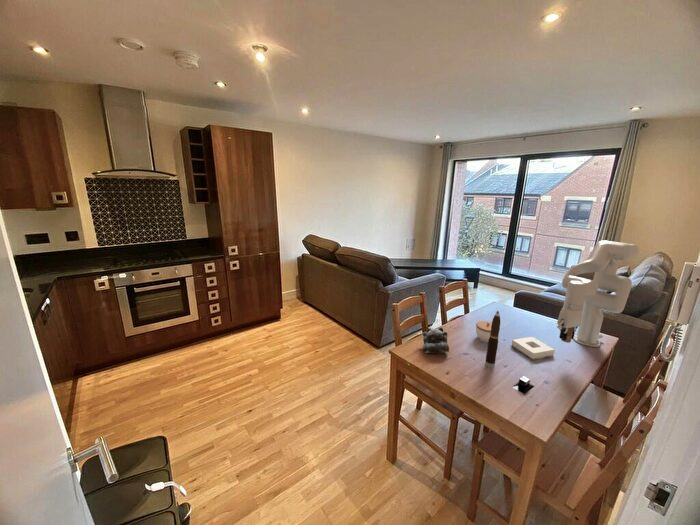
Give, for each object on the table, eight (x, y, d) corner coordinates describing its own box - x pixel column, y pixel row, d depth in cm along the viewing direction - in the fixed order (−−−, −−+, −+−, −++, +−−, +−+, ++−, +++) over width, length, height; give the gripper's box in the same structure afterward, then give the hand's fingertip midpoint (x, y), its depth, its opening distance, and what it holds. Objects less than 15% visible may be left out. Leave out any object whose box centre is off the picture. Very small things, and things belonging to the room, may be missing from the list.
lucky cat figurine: (418, 353, 156) (417, 327, 159) (427, 352, 165) (426, 327, 168) (445, 354, 147) (443, 327, 150) (453, 353, 156) (451, 327, 159)
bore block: (531, 342, 167) (532, 336, 166) (553, 356, 154) (554, 349, 153) (511, 346, 163) (512, 339, 162) (532, 360, 150) (533, 353, 149)
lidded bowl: (502, 342, 167) (505, 325, 164) (486, 346, 162) (488, 329, 159) (485, 332, 178) (487, 316, 175) (469, 336, 174) (472, 319, 171)
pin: (565, 337, 148) (568, 324, 146) (572, 341, 144) (575, 327, 142) (559, 339, 147) (561, 325, 145) (566, 343, 143) (569, 328, 141)
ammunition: (486, 361, 149) (494, 308, 141) (495, 364, 146) (504, 310, 138) (483, 365, 145) (491, 311, 138) (493, 368, 143) (502, 314, 135)
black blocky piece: (522, 378, 136) (523, 370, 135) (538, 387, 131) (540, 378, 129) (508, 388, 130) (509, 379, 129) (524, 397, 124) (526, 389, 123)
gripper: (578, 300, 146) (571, 332, 151) (552, 304, 142) (546, 337, 147) (594, 306, 139) (586, 339, 144) (567, 310, 135) (560, 344, 140)
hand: (566, 338), depth 145 cm, fingers closed on pin, 4 cm apart
